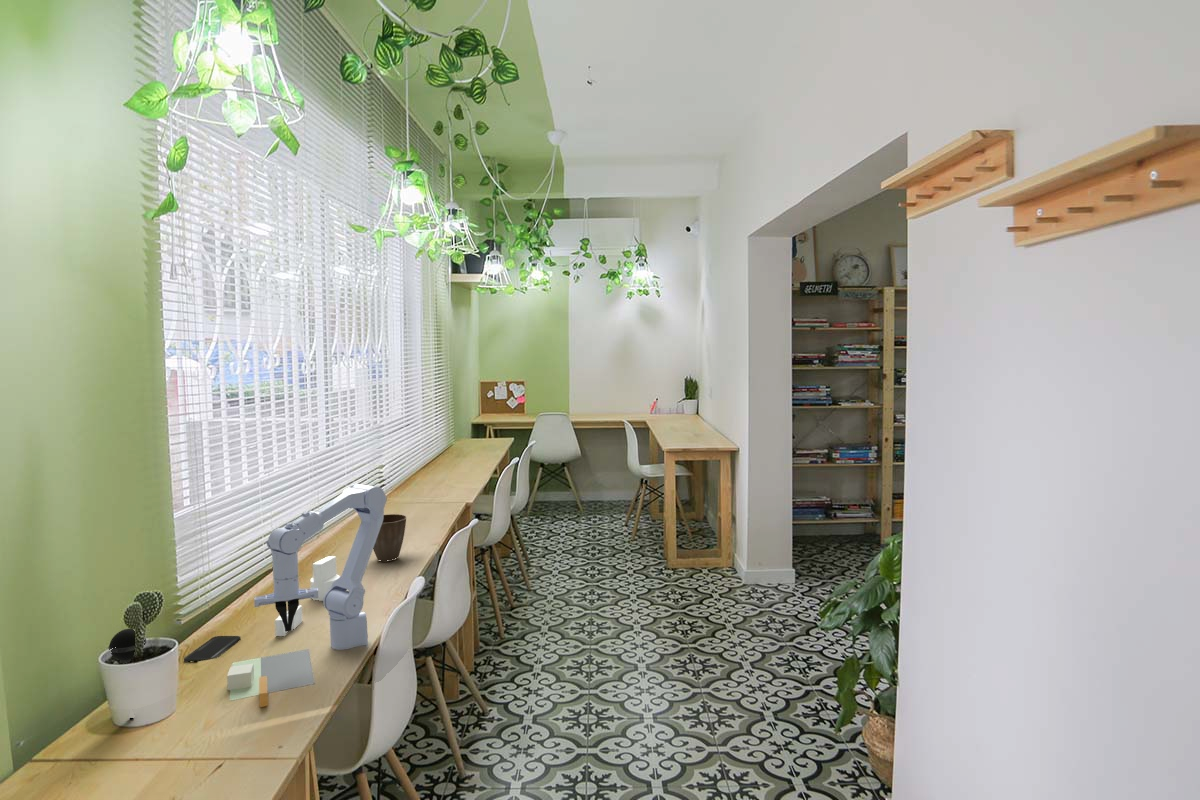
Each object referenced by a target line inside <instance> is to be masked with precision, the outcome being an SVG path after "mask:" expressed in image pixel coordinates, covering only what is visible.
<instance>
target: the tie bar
mask: <svg viewBox="0 0 1200 800" xmlns="http://www.w3.org/2000/svg"><path fill="white" fill-rule="evenodd" d="M268 695H269V693H268V692H267V676H264V677H259V695H258V696H259V708H262V707H263V708H264V707H267V706H269V698H268Z"/></svg>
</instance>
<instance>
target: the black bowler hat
mask: <svg viewBox="0 0 1200 800" xmlns="http://www.w3.org/2000/svg"><path fill="white" fill-rule="evenodd" d="M133 629H134V628H125V629H122V630H119V631H118V632H117V633H116V634H114V636H113V637H112V638H111V639H110V642H109V645H108V648H107V649H108V651H109V650H110V649H112V648H113V649H112V650H111V652H112V653H110V654H111V656H112V657H113V658H114V659H116V660H118V661H119V660H120V661H119V664H120V663H125V662H130V661H131V658H133V655H134V652H135V631H134V630H133ZM144 642H145V643H144V645H145V646H146V644H147V639H146V637H145V640H144ZM115 647H116V648H115Z"/></svg>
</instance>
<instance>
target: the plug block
mask: <svg viewBox="0 0 1200 800" xmlns="http://www.w3.org/2000/svg"><path fill="white" fill-rule="evenodd" d="M226 680H227V681H226V682H227V691H230V690H233V689H240V688H246V687H251V686H252V683H253V680H254V664H247V665H240V666H233V667H232V666H230V667H229V670H228V672H227V675H226Z"/></svg>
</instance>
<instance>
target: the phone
mask: <svg viewBox="0 0 1200 800" xmlns="http://www.w3.org/2000/svg"><path fill="white" fill-rule="evenodd" d="M241 639H242V638H241V636H240V635H216V636H213V637H211V638H210V639H209V640H207V641H206V642H204V643H203V644H202V645H200V646H198V647H197V648H196V649H194V650H193V651H191V652H190V653H188V654H187V655H186V656H185V657H184V658H183V662H184V663H189V662H188V661H198V662H204V661H209V660H215V659H218V658H219V657H220V656H222V655H223V654H224V653H226V652H225V651H228V650H230V648H232V647H233V646H235V645H236V644H237V643H239V642H240V641H241ZM239 640H240V641H239ZM238 641H239V642H238ZM221 654H222V655H221ZM217 657H218V658H217ZM186 661H187V662H186Z"/></svg>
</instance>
